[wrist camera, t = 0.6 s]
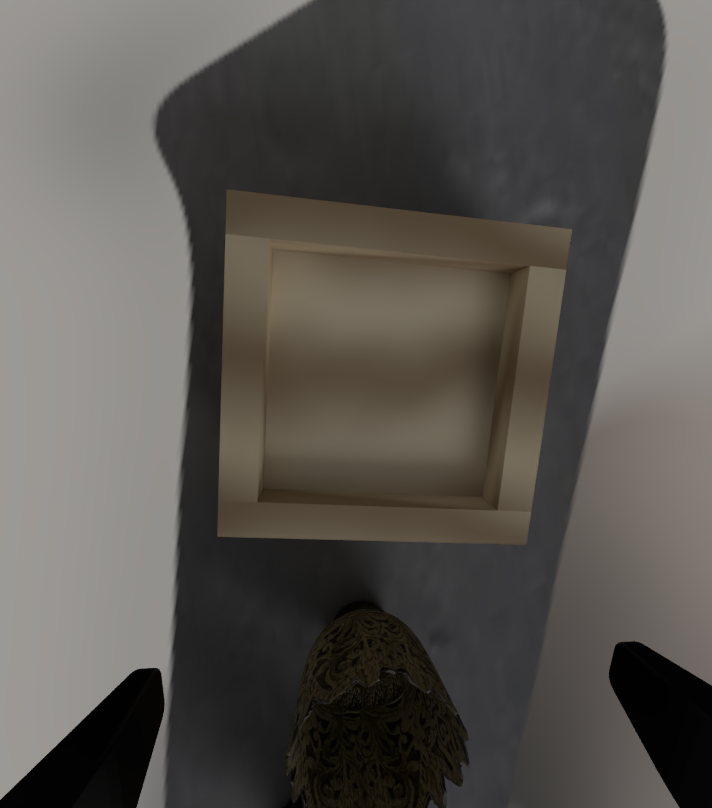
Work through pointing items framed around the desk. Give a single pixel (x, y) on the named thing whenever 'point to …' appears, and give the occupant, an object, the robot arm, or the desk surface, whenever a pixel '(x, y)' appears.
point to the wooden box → (383, 371)
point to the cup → (373, 719)
